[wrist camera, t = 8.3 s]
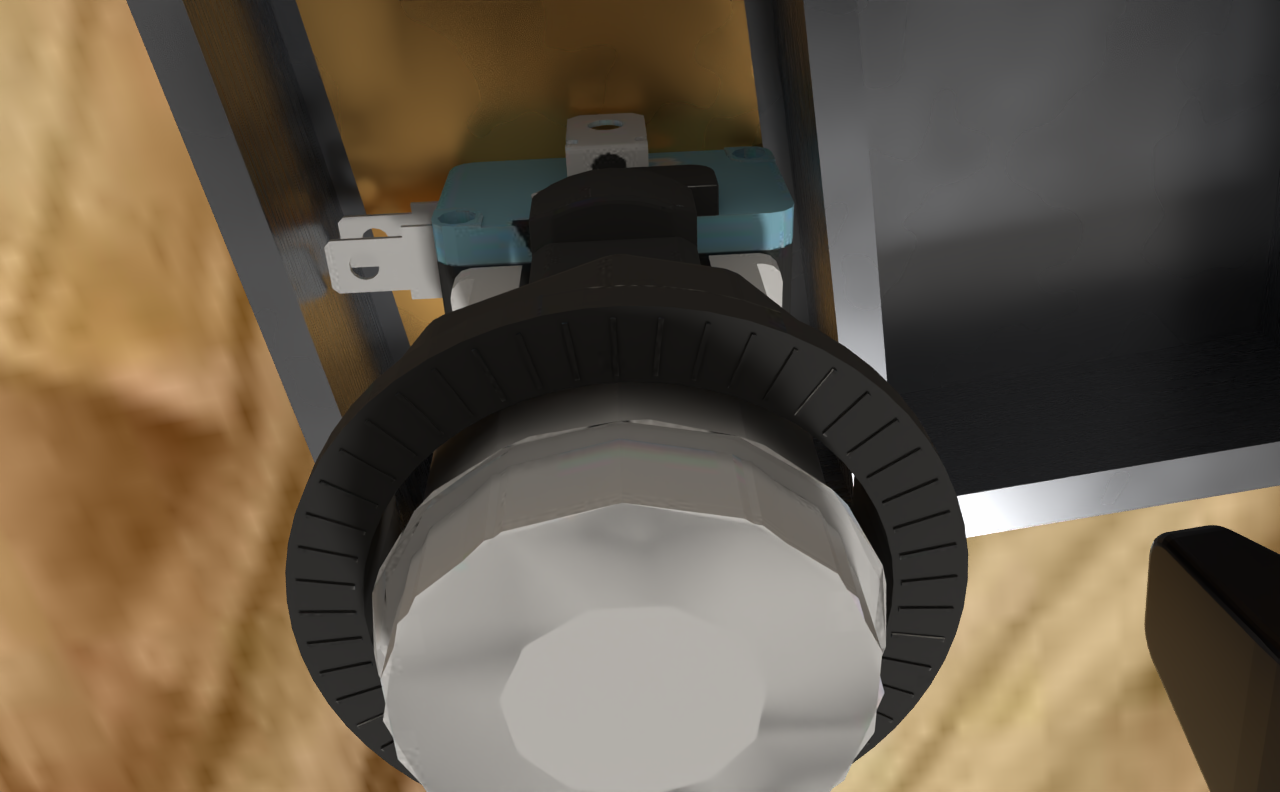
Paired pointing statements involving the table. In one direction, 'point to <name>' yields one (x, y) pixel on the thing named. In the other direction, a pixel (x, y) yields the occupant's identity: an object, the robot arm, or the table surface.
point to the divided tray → (817, 200)
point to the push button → (619, 494)
